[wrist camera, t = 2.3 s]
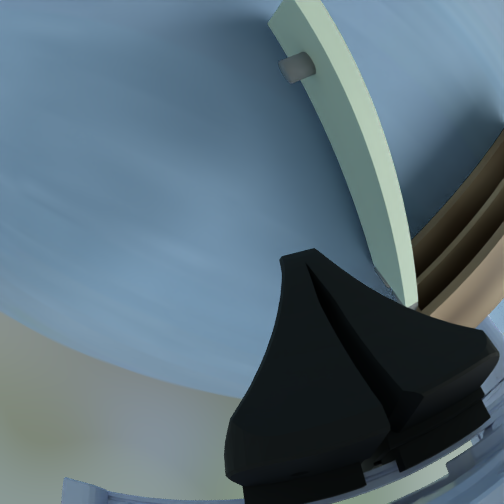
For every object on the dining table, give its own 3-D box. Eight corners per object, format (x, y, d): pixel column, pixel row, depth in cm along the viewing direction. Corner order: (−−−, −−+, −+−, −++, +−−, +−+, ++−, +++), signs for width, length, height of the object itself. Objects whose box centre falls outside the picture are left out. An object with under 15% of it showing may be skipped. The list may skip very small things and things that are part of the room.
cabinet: (522, 187, 15) (561, 213, 10) (414, 311, 20) (444, 356, 15) (506, 125, 12) (556, 146, 7) (379, 271, 17) (418, 325, 13)
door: (284, 17, 9) (312, -14, 5) (386, 267, 16) (419, 310, 13) (247, 32, 9) (259, 1, 5) (362, 280, 17) (391, 326, 13)
